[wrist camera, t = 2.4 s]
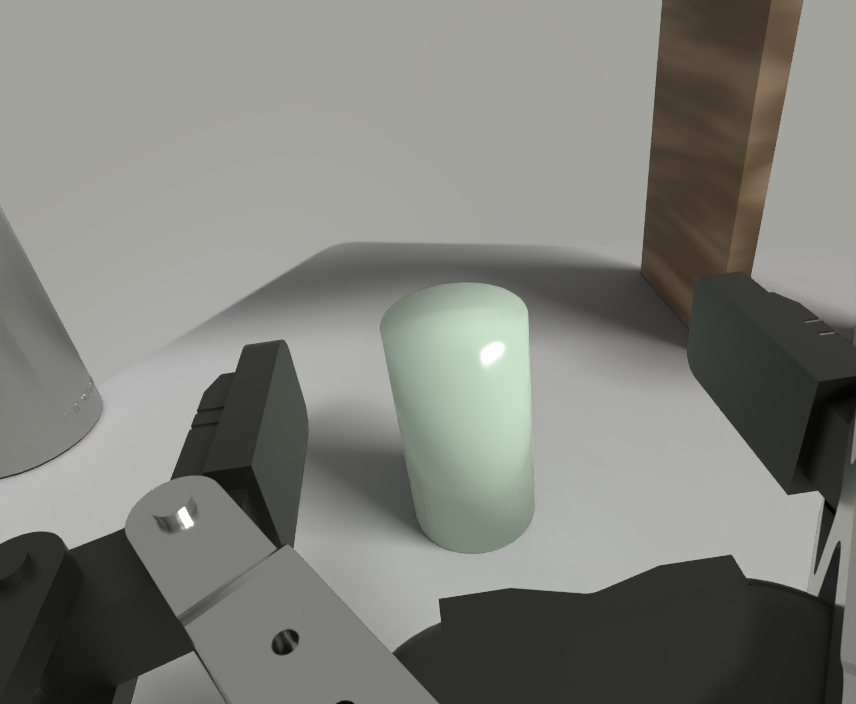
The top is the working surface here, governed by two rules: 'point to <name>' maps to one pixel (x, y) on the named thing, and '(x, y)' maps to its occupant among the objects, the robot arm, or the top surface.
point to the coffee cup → (855, 338)
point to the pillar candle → (464, 411)
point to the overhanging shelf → (713, 138)
